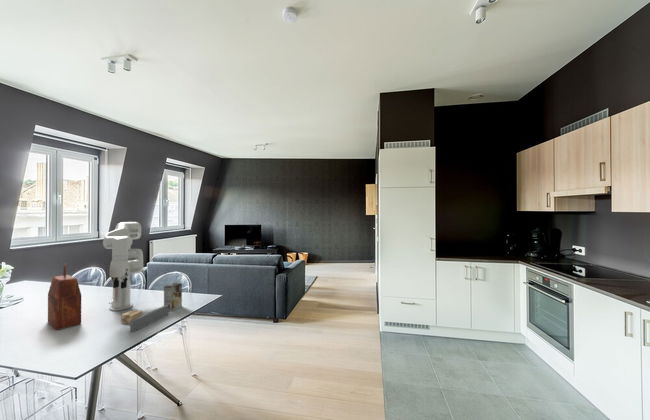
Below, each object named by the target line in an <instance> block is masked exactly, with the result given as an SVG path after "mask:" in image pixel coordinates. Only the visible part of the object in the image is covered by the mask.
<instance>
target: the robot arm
mask: <svg viewBox="0 0 650 420" xmlns="http://www.w3.org/2000/svg"><path fill="white" fill-rule="evenodd" d="M141 236H142V225H141V224H140V223H139V222H138V221H122V222H119V223H118V222H117V224H116V225H115V229H114V230H111V231H110V232H107V233H106V234H105V236H104V237H103V242H102V245H103V248H104V249H107V250H110V249H111V250H112V253H111V259H112V260H111V262H110V264H109V271H108V272H109V275H108V276H109V277H110V278H111V280H112V300H110V301H109V303H108V304H109V305H111V306H110V307H109V310H110V311H116V312H117V311H122V310H127V309H130V308H131V307H133V306H134V303H133V302H131V282H132V281H131V279H130V278H131V276H132V275H135V274H140V273H142V272H143V270H144V253H143V250H142V249H140V248H132V245H133V240H139V239H140V238H141Z"/></svg>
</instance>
